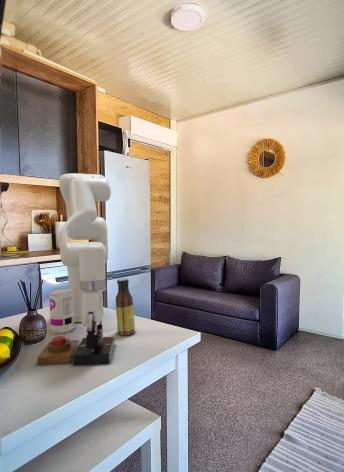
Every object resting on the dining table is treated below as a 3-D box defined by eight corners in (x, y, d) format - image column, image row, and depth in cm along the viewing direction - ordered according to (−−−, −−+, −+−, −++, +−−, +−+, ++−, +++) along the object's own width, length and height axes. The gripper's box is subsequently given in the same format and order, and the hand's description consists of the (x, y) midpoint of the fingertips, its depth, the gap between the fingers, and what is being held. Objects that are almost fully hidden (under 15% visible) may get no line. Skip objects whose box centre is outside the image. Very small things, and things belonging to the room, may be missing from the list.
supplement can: (52, 335, 110) (50, 294, 109) (49, 328, 117) (48, 290, 116) (75, 331, 114) (74, 291, 113) (72, 325, 121) (70, 287, 120)
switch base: (83, 346, 100) (82, 337, 100) (114, 345, 101) (114, 335, 100) (73, 365, 87) (73, 355, 87) (109, 363, 88) (109, 353, 87)
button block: (50, 347, 99) (50, 335, 99) (78, 346, 100) (78, 334, 100) (37, 365, 88) (36, 351, 87) (69, 363, 88) (69, 350, 88)
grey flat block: (87, 346, 93) (86, 331, 92) (88, 344, 94) (87, 329, 94) (102, 345, 93) (101, 330, 93) (103, 343, 94) (102, 328, 94)
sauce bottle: (136, 330, 114) (135, 277, 113) (132, 336, 108) (131, 280, 106) (119, 329, 115) (117, 277, 113) (114, 336, 109) (112, 280, 107)
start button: (54, 341, 95) (54, 336, 95) (66, 341, 96) (66, 335, 95) (51, 346, 92) (51, 340, 92) (63, 345, 92) (63, 340, 92)
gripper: (86, 280, 101) (88, 332, 102) (73, 292, 83) (75, 355, 85) (109, 279, 101) (111, 331, 102) (101, 291, 84) (103, 354, 85)
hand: (95, 341), depth 93 cm, fingers open, 7 cm apart
